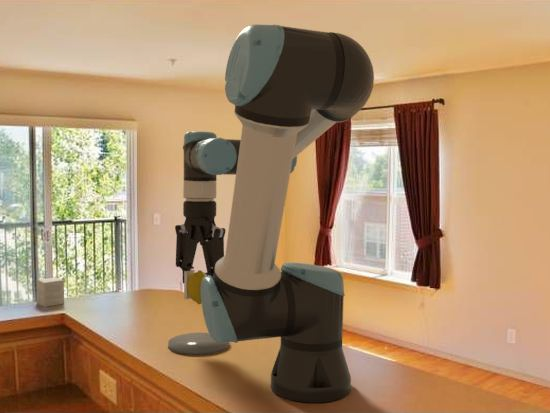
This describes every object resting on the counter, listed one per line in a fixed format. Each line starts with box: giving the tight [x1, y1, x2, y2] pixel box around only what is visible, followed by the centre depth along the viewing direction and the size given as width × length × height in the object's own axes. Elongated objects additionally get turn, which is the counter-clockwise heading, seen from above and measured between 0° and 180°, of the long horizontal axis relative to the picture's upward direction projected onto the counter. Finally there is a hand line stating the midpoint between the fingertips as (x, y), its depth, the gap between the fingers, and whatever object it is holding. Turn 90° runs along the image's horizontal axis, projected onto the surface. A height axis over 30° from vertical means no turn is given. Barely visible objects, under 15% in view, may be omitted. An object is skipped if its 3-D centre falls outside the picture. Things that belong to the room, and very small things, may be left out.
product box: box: [36, 277, 65, 308], centre depth 168 cm, size 6×6×7 cm
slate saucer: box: [167, 332, 230, 356], centre depth 130 cm, size 14×14×1 cm
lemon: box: [187, 270, 206, 305], centre depth 129 cm, size 6×6×8 cm
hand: (199, 299), depth 130 cm, fingers closed on lemon, 5 cm apart
